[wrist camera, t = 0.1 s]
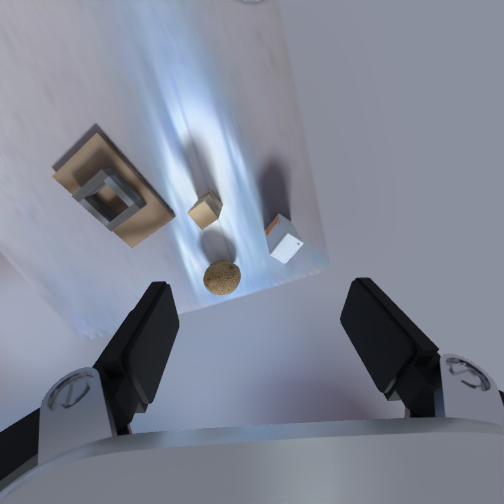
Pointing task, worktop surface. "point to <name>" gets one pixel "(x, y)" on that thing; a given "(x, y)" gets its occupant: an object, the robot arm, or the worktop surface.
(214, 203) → the oak peg
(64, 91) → the worktop surface
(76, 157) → the peg caddy
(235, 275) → the natural sponge
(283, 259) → the skincare box
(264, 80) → the worktop surface
